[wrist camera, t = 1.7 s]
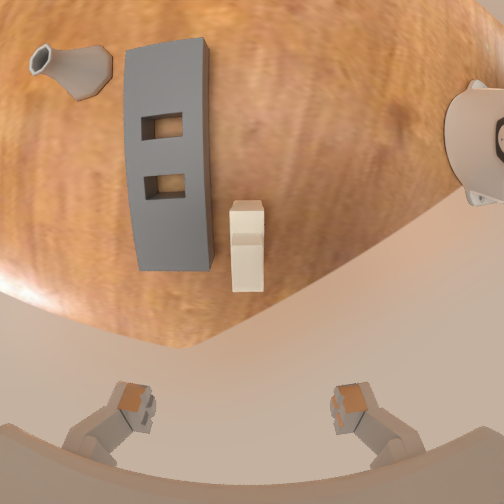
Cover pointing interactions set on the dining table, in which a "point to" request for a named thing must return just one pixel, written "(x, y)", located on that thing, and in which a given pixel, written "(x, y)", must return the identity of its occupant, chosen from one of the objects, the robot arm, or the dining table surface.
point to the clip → (247, 245)
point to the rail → (169, 155)
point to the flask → (74, 68)
